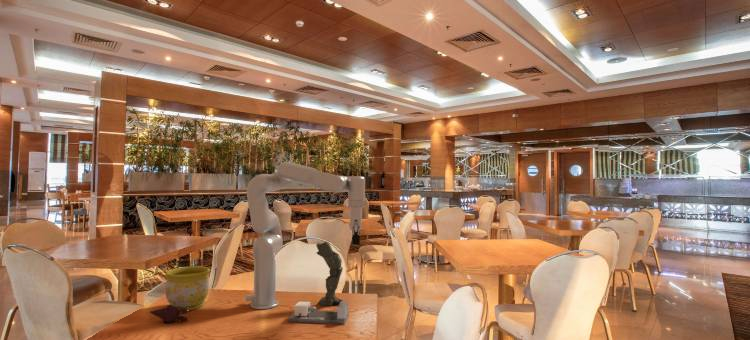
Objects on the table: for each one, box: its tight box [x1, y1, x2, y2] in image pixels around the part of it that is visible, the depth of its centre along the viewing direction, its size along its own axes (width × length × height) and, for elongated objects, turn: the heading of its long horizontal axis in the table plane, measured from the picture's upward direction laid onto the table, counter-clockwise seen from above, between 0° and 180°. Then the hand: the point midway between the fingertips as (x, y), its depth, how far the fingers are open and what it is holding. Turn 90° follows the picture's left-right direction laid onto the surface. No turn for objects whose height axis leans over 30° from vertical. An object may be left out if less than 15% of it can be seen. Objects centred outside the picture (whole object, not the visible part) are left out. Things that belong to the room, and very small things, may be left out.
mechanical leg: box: [315, 240, 344, 307], centre depth 180 cm, size 14×7×30 cm, turn 84°
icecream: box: [149, 304, 188, 323], centre depth 155 cm, size 7×7×15 cm
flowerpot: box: [164, 265, 211, 311], centre depth 173 cm, size 18×18×16 cm
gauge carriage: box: [294, 301, 317, 316], centre depth 160 cm, size 8×8×4 cm
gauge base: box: [287, 300, 350, 325], centre depth 160 cm, size 23×10×6 cm, turn 84°
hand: (356, 242), depth 172 cm, fingers open, 9 cm apart
